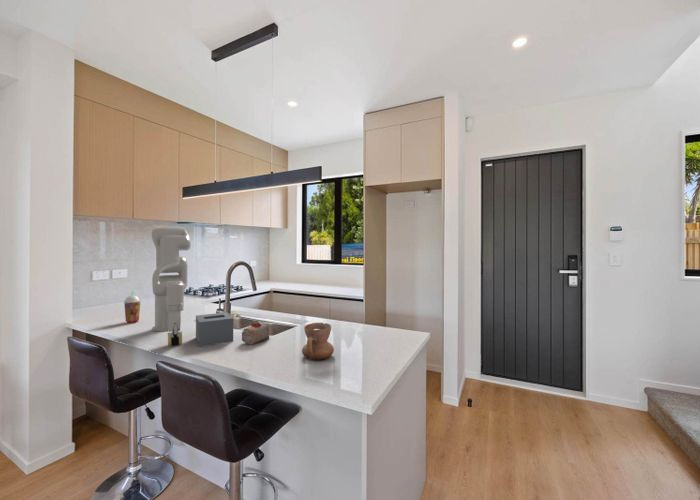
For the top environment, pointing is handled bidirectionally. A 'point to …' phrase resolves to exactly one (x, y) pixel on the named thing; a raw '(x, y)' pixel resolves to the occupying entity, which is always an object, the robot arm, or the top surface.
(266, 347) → the top surface
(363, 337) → the top surface
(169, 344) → the yellow square slab
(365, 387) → the top surface
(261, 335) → the food item
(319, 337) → the ceramic jug
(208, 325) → the money box
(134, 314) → the smoothie
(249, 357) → the top surface
